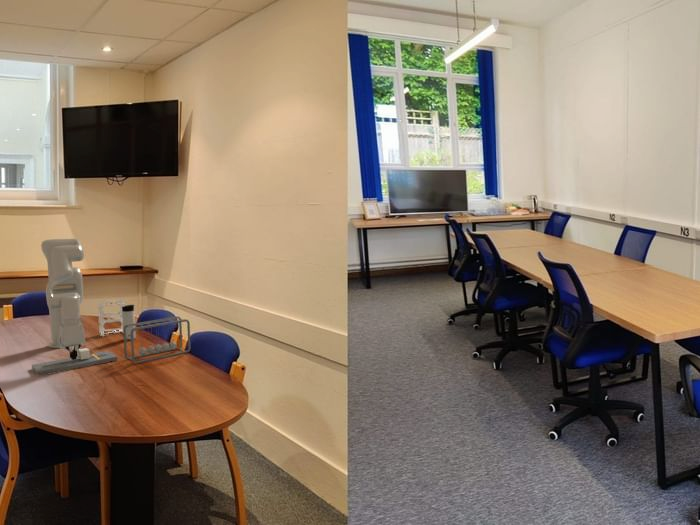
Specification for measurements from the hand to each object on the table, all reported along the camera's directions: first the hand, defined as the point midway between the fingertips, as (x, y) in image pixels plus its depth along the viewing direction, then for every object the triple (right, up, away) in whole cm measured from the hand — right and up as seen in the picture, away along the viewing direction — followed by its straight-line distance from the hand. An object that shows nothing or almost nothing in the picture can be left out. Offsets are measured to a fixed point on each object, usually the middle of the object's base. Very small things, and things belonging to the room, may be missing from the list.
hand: (73, 358), depth 241 cm
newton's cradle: (+35, -2, +14) cm, 38 cm away
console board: (+1, -3, +1) cm, 3 cm away
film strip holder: (-9, +4, +60) cm, 61 cm away
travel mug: (+7, +2, +46) cm, 47 cm away
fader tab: (+3, 0, +3) cm, 5 cm away
